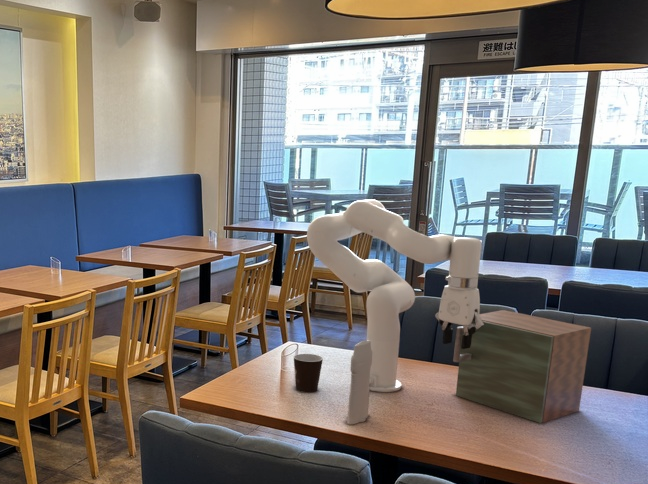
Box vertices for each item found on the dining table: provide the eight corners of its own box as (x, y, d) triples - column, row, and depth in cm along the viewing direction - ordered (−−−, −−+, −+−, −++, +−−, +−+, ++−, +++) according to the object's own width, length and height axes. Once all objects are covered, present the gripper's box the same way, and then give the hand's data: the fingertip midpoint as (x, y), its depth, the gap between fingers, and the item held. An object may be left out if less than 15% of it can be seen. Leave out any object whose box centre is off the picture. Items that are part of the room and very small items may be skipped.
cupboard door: (525, 427, 188) (537, 340, 182) (441, 399, 210) (449, 320, 204) (542, 422, 192) (553, 336, 186) (457, 394, 213) (466, 317, 208)
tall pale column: (354, 426, 190) (360, 346, 184) (340, 422, 192) (345, 343, 187) (374, 416, 197) (379, 338, 192) (360, 412, 200) (365, 335, 194)
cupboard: (542, 422, 192) (554, 335, 186) (458, 395, 214) (466, 316, 208) (579, 411, 200) (591, 327, 194) (494, 385, 222) (503, 309, 216)
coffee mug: (315, 395, 214) (317, 363, 211) (288, 390, 218) (289, 359, 216) (328, 384, 223) (329, 354, 221) (301, 380, 228) (303, 350, 225)
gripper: (427, 279, 204) (422, 340, 209) (481, 288, 190) (474, 354, 194) (445, 276, 208) (439, 337, 212) (499, 286, 194) (491, 350, 198)
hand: (456, 345), depth 203 cm, fingers open, 5 cm apart
